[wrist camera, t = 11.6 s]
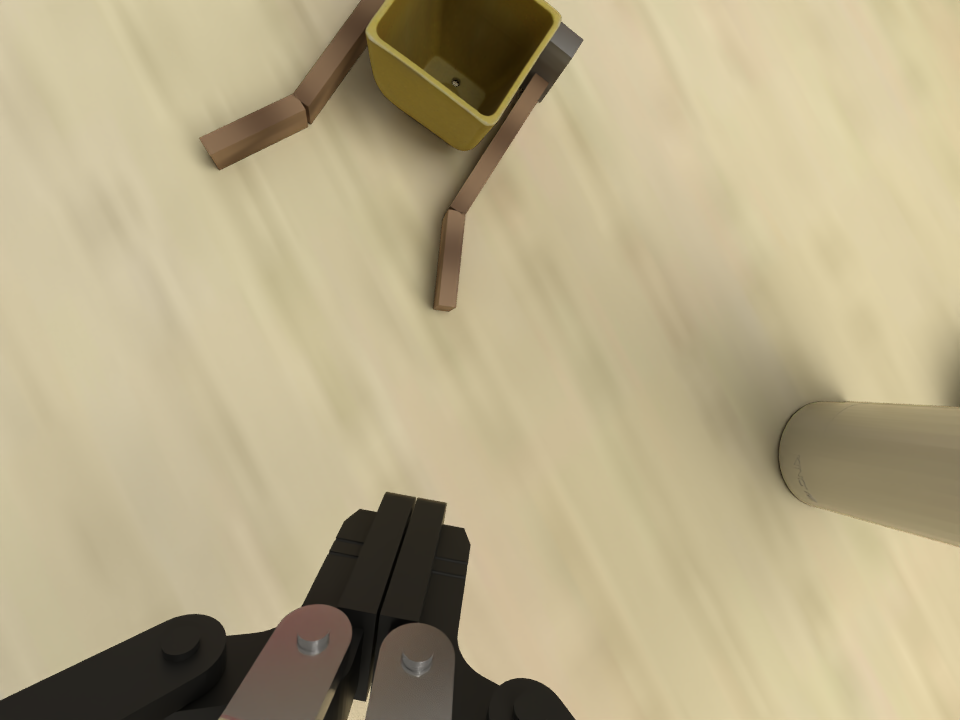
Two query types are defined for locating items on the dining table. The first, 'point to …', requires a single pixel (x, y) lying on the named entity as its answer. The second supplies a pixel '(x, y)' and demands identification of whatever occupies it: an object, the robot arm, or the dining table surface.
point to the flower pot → (457, 59)
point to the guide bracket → (324, 81)
